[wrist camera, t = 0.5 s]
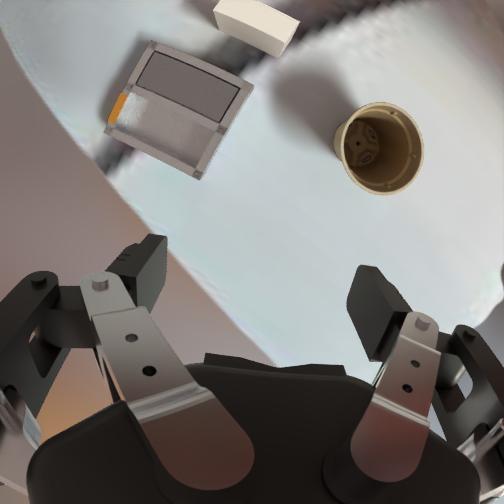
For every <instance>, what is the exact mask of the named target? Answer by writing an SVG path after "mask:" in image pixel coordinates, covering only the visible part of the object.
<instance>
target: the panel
mask: <svg viewBox="0 0 504 504" xmlns="http://www.w3.org/2000/svg"><path fill="white" fill-rule="evenodd" d="M213 12H214V15H215V18H216V22H217V25H218V28H219V31H221V32H224V33H226V34H228V35H231V36H233V37H235V38H237V39H239V40H242V41H244V42H246V43H248V44H250V45H252V46H254V47H256V48H258V49H260V50H262V51H264V52H266V53H268V54H270V55H272V56H274V57H276V58H279V57H280V55H281V54H282V52H283V51H284V49H285V48H286V46H287V45H288V43H289V42H290V41H291V39H292V36H293V34H294V32H295V30H296V28H297V26H298V24H299V21H297V20H295V19H293V18H292V17H290V16H288V15H286V14H284V13H282V12H280V11H278V10H275V9H273V8H271V7H269V6H267V5H265V4H263V3H260V2H258V1H256V0H220V1H219V3H218V4H217V5H216V7H215V8H214V9H213Z"/></svg>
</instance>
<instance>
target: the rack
mask: <svg viewBox="0 0 504 504" xmlns="http://www.w3.org/2000/svg"><path fill="white" fill-rule="evenodd" d="M253 89H254V85H252V84H250V83H249V82H247V81H245V80H243V79H241V78H239V77H237V76H235V75H233V74H231V73H228V72H226V71H224V70H222V69H220V68H218V67H216V66H214V65H211V64H209V63H207V62H205V61H202V60H200V59H198V58H195V57H193V56H191V55H188V54H186V53H183V52H181V51H178V50H176V49H173V48H171V47H168V46H166V45H163V44H160V43H157V42H155V41H152V40H151V42H150V43H149V45H148V47H147V48H146V50H145V51H144V53H143V55H142V57H141V58H140V60H139V62H138V64H137V65H136V67H135V69H134V71H133V73H132V74H131V76H130V78H129V80H128V82H127V84H126V86H125V88H124V90H123V92H122V93H120V95H119V97H118V99H117V101H116V103H115V105H114V107H113V109H112V112H111V114H110V116H109V118H108V120H107V121H108V123H107V125H106V128H105V130H104V132H103V133H105V134H107V135H109V136H112V137H114V138H116V139H118V140H120V141H122V142H124V143H126V144H128V145H130V146H132V147H134V148H136V149H138V150H140V151H142V152H144V153H146V154H148V155H150V156H152V157H155V158H157V159H158V160H160V161H162V162H164V163H166V164H168V165H170V166H172V167H174V168H176V169H178V170H180V171H182V172H184V173H186V174H188V175H190V176H192V177H194V178H196V179H198V180H200V179H201V178H202V177H203V176H204V175H205V173H206V171H207V169H208V167H209V165H210V164H211V162H212V160H213V158H214V156H215V154H216V153H217V151H218V149H219V147H220V145H221V144H222V142H223V140H224V138H225V137H226V135H227V133H228V131H229V130H230V128H231V126H232V124H233V123H234V121H235V119H236V118H237V116H238V114H239V113H240V111H241V109H242V108H243V106H244V104H245V103H246V101H247V99H248V98H249V96H250V94H251V93H252V91H253Z"/></svg>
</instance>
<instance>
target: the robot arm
mask: <svg viewBox="0 0 504 504" xmlns="http://www.w3.org/2000/svg"><path fill="white" fill-rule="evenodd" d="M166 269H167V236H163V235H156V234H148V235H147V236H146V237H145V239H144V240H143V241H142V242H141V243H140V244H137V243H135V244H133V245H130V246H128V247H126V248H125V249H124V250H123V252H121V254H120V255H119V256H118V257H117V258H116V260H114V262H113V263H112V264H111V265H110V266H109V267H108V268H107V270H105V271H100V272H93V273H90V274H88V275H86V276H85V277H83V278H82V279H81V281H80V286H59V282H58V277H57V275H56V274H54V273H53V272H49V271H38V272H34V273H31V274H29V275H27V276H26V277H25V278H24V279H22V280H21V282H20V283H18V285H16V286H15V287H14V288H13V290H11V292H10V293H9V294H8V295H7V296H6V297H5V298H4V299H3V300H2V301H1V302H0V486H1V485H4V484H6V485H7V486H9V487H11V488H13V489H15V490H17V491H19V492H20V493H23V494H24V495H27V496H28V497H29V502H30V504H490V503H492V502H494V501H495V500H497V499H498V498H499V497H500V496H502V495H504V367H503V366H502V364H501V363H500V361H499V360H498V359H497V357H496V356H495V355H494V353H493V352H492V350H491V349H490V347H489V346H488V345H487V343H486V342H485V341H484V340H483V338H482V337H481V336H480V334H479V333H478V332H477V331H475V330H474V329H473V328H471V327H469V326H466V325H457V326H456V327H455V329H454V331H453V333H452V335H450V334H446V333H442V332H439V326H438V324H437V323H436V322H435V321H434V320H433V319H432V318H431V317H429V316H428V315H426V314H423V313H420V312H413V310H412V309H411V308H410V306H409V305H408V303H407V302H406V301H405V299H403V297H402V295H401V294H400V293H399V291H398V290H397V289H396V287H395V286H394V285H393V284H391V283H390V282H389V281H387V279H386V278H385V277H384V276H383V274H382V273H381V272H380V270H379V269H378V268H377V267H374V266H367V265H360V266H359V267H358V268H357V271H356V273H355V276H354V279H353V282H352V285H351V288H350V291H349V294H348V297H347V311H348V313H349V315H350V317H351V320H352V322H353V324H354V326H355V329H356V331H357V333H358V336H359V338H360V340H361V342H362V345H363V347H364V349H365V352H366V354H367V357H368V359H369V361H370V362H382V365H381V367H380V368H379V370H378V372H377V374H376V376H375V378H374V380H373V382H372V384H369V383H367V382H365V381H363V380H360V379H358V378H355V377H352V376H349V375H346V372H345V369H344V366H343V365H327V364H307V365H299V366H291V367H283V368H277V367H272V366H268V365H265V364H262V363H258V362H255V361H251V360H248V359H244V358H241V357H233V356H225V355H218V354H211V353H205V358H204V363H194V364H188V365H183V363H182V362H181V360H180V359H179V358H178V356H177V355H176V353H175V352H174V350H173V349H172V348H171V346H170V344H169V343H168V342H167V340H166V338H165V337H164V335H163V334H162V332H161V331H160V329H159V328H158V326H157V325H156V323H155V322H154V320H153V318H152V317H151V315H150V313H151V311H152V309H153V307H154V304H155V302H156V300H157V298H158V296H159V294H160V292H161V290H162V288H163V286H164V283H165V278H166ZM33 331H34V332H35V336H34V337H33V339H32V340H31V342H30V343H29V339H30V336H31V334H32V332H33ZM71 348H92V352H93V355H94V358H95V361H96V363H97V366H98V368H99V371H100V374H101V377H102V379H103V382H104V384H105V387H106V390H107V392H108V395H109V398H110V401H111V405H110V406H108V407H106V408H104V409H103V410H101V411H99V412H97V413H95V414H93V415H92V416H90V417H88V418H86V419H84V420H83V421H81V422H79V423H77V424H75V425H74V426H72V427H70V428H68V429H66V430H64V431H62V432H60V433H59V434H57V435H55V436H53V437H51V438H49V439H48V440H46V441H45V442H44V443H42V444H41V445H40V446H39V442H40V437H41V431H40V427H39V425H38V423H37V421H36V418H37V415H38V413H39V411H40V409H41V407H42V404H43V403H44V400H45V398H46V396H47V394H48V392H49V390H50V388H51V386H52V384H53V382H54V380H55V378H56V376H57V374H58V372H59V371H60V368H61V367H62V365H63V363H64V361H65V359H66V357H67V356H68V354H69V352H70V350H71ZM466 370H467V372H468V373H469V375H470V377H471V378H472V381H473V388H472V391H471V393H470V394H469V395H468V397H467V398H466V399H465V397H464V395H463V393H462V392H461V390H460V388H459V386H458V384H457V382H458V381H459V379H460V378H461V376H462V375H463V374H464V372H465V371H466ZM431 403H432V405H433V408H434V410H435V412H436V415H437V417H438V420H439V422H440V425H441V427H442V430H443V432H444V435H445V437H446V440H447V441H445V440H444V439H443V438H441V437H440V436H439V435H437V434H436V433H435V432H433V431H432V430H431V429H429V428H430V423H429V422H428V421H427V417H428V413H429V410H430V405H431Z"/></svg>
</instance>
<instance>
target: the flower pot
mask: <svg viewBox="0 0 504 504" xmlns="http://www.w3.org/2000/svg"><path fill="white" fill-rule="evenodd" d="M349 125H351V126H349ZM348 126H349V127H348ZM368 130H370V131H372V133H373V134H374V136H375V138H372V137H371V134H370V133H369V131H368ZM357 142H359V143H360V144H359V145H357ZM333 144H334V149H335V152H336V154H337V156H338V158H339V159H340V160H341V161H342V163H343V165H344V168H345V170H346V172H347V174H348V175H349V177H350V178H351V179H352V180H353V182H354V183H356V184H357V185H358V186H359V187H360V188H362V189H363V190H365V191H367V192H369V193H373V194H376V195H392V194H395V193H398V192H400V191H402V190H404V189H405V188H407V187H408V186H409V185H410V184H411V183H412V182H413V181H414V180H415V178H416V177H417V175H418V173H419V171H420V169H421V166H422V163H423V158H424V144H423V139H422V135H421V133H420V130H419V128H418V126H417V124H416V123H415V121H414V120H413V119H412V117H411V116H410V115H409V114H408V113H407V112H405V111H404V110H403V109H401V108H400V107H398V106H396V105H393V104H390V103H385V102H375V103H371V104H367V105H365V106H363V107H361V108H359V109H358V110H357V111H355V112H354V113H353V114H352V115H351V116H350V118H349V119H348V120H347V121H345V122H343V123H342V124H341V125H340V126H339V127H338V129H337V130H336V132H335V136H334V143H333ZM368 155H369V156H370V159H369V160H368V161H365V162H363V159H364V158H366V157H367V156H368Z"/></svg>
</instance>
